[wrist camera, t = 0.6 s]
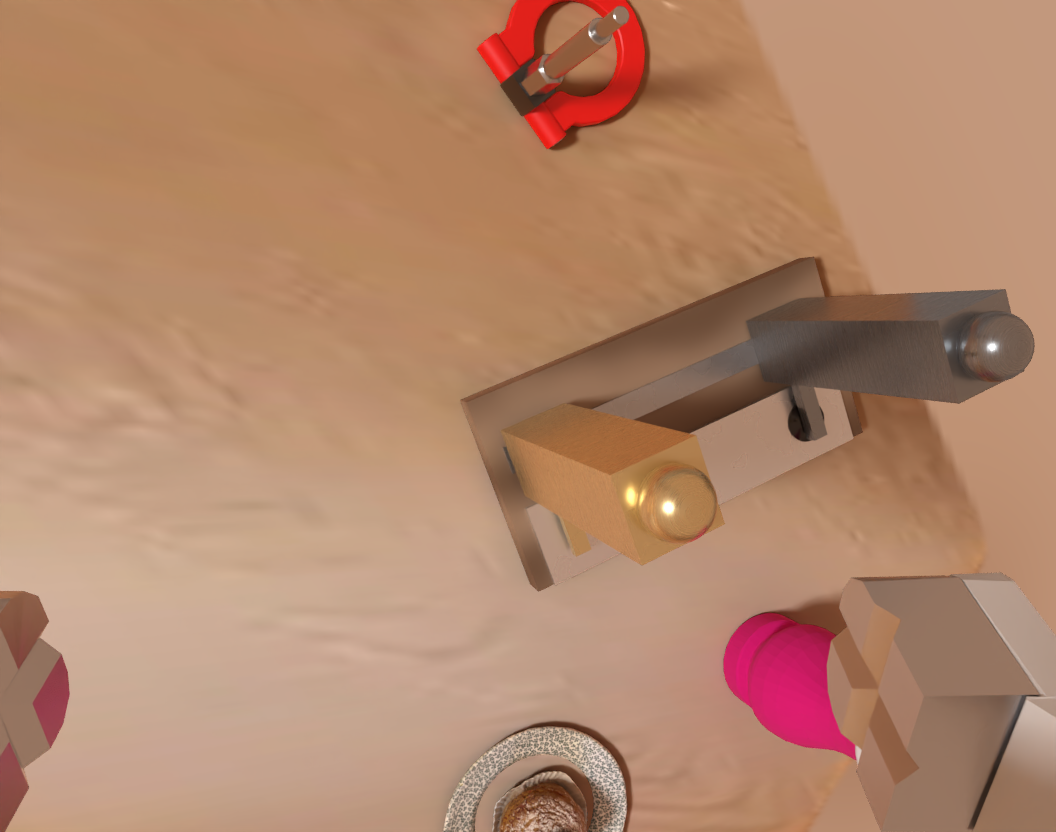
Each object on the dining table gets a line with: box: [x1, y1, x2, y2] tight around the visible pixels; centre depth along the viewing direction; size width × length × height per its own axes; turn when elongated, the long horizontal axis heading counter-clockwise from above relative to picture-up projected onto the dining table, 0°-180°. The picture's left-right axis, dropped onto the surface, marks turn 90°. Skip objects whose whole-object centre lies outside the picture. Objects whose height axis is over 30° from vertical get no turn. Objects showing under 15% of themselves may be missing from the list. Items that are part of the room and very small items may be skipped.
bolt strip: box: [503, 339, 854, 586], centre depth 53 cm, size 9×22×1 cm, turn 111°
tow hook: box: [477, 0, 645, 149], centre depth 44 cm, size 8×13×9 cm
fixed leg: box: [746, 289, 1034, 441], centre depth 47 cm, size 8×4×18 cm, turn 21°
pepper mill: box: [724, 613, 862, 764], centre depth 49 cm, size 7×7×20 cm
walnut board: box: [460, 257, 863, 591], centre depth 54 cm, size 12×24×2 cm, turn 111°
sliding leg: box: [500, 403, 725, 565], centre depth 42 cm, size 8×4×17 cm, turn 21°
